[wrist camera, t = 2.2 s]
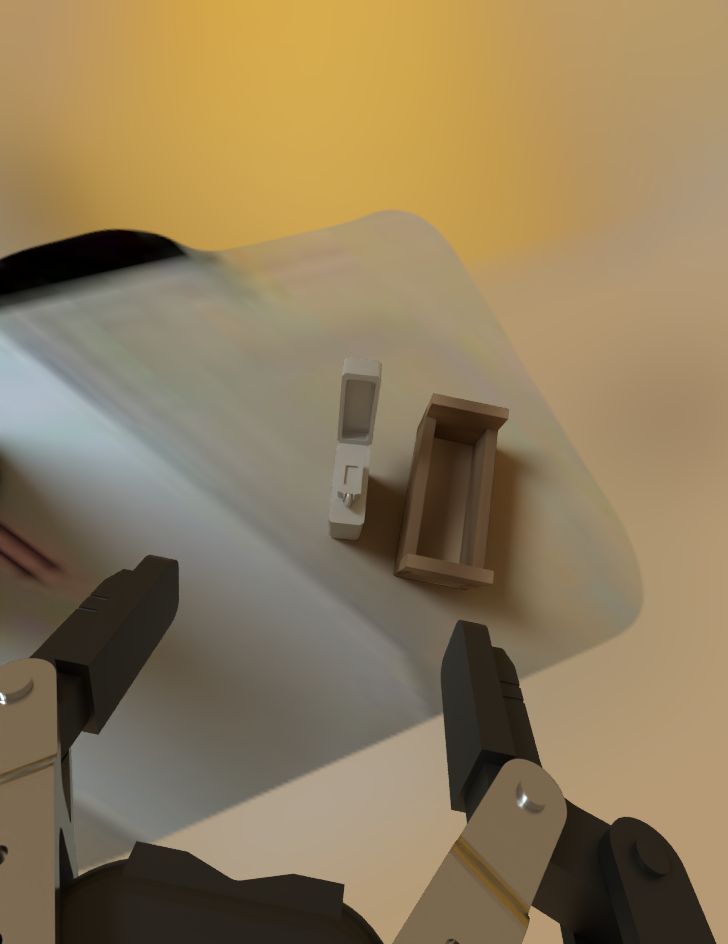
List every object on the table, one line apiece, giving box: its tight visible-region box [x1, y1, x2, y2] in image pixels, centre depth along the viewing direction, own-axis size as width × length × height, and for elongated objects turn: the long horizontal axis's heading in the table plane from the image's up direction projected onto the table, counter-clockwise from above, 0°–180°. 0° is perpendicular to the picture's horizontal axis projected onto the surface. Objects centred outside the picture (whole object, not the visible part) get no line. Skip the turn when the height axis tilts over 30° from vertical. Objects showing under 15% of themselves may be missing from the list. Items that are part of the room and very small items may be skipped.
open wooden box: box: [393, 393, 509, 590], centre depth 24 cm, size 4×9×4 cm, turn 169°
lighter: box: [328, 357, 382, 540], centre depth 22 cm, size 7×2×8 cm, turn 175°
